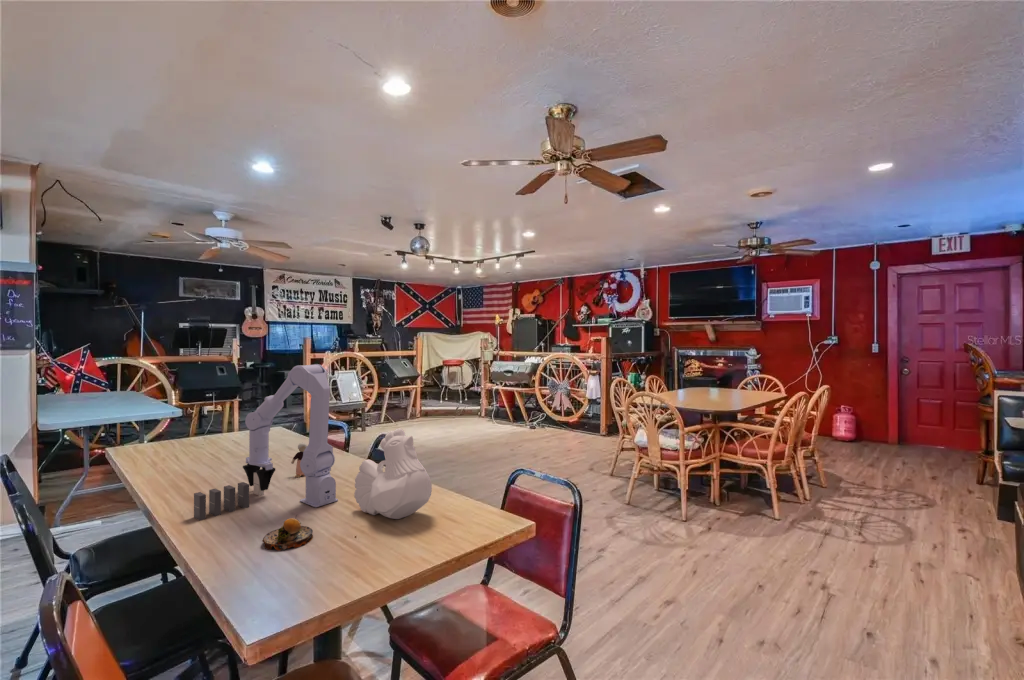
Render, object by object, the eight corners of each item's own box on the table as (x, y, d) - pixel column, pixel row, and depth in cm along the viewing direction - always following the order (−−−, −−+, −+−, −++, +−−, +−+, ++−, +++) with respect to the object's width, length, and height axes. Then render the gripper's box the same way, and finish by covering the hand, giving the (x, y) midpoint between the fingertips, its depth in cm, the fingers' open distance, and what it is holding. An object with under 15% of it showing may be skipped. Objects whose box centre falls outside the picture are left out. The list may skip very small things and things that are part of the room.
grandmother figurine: (295, 479, 173) (295, 444, 173) (290, 477, 176) (290, 443, 176) (314, 474, 179) (314, 441, 179) (309, 472, 182) (309, 440, 182)
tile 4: (205, 518, 135) (205, 494, 135) (199, 520, 133) (199, 496, 133) (200, 515, 137) (200, 491, 137) (193, 517, 136) (193, 493, 136)
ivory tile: (264, 494, 156) (264, 473, 156) (259, 495, 155) (259, 474, 155) (258, 492, 158) (258, 471, 158) (253, 493, 157) (253, 472, 157)
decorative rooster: (448, 496, 136) (423, 422, 148) (405, 500, 123) (382, 419, 136) (397, 533, 146) (378, 460, 158) (353, 540, 134) (336, 461, 146)
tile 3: (220, 514, 138) (221, 491, 138) (214, 516, 137) (214, 492, 137) (215, 511, 140) (215, 488, 140) (209, 513, 139) (209, 489, 139)
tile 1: (249, 506, 144) (249, 484, 144) (243, 508, 143) (243, 485, 143) (243, 504, 147) (243, 481, 147) (237, 505, 145) (237, 483, 145)
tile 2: (235, 510, 141) (235, 487, 141) (229, 512, 140) (229, 489, 140) (229, 507, 144) (229, 485, 144) (223, 509, 142) (223, 486, 142)
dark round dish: (300, 528, 129) (300, 501, 129) (321, 540, 122) (322, 511, 122) (254, 542, 120) (254, 513, 120) (274, 556, 112) (274, 525, 112)
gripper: (282, 448, 155) (281, 488, 156) (260, 442, 164) (260, 480, 164) (260, 452, 150) (260, 494, 150) (239, 445, 158) (239, 485, 158)
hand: (258, 487), depth 157 cm, fingers open, 7 cm apart
